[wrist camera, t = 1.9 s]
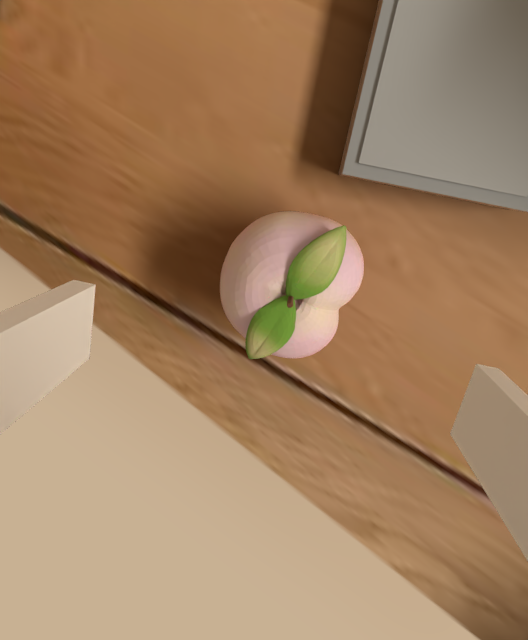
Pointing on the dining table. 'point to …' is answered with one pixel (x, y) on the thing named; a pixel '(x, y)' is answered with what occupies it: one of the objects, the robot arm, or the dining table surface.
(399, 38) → the slate trivet
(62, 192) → the dining table surface
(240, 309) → the decorative fruit
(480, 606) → the dining table surface
